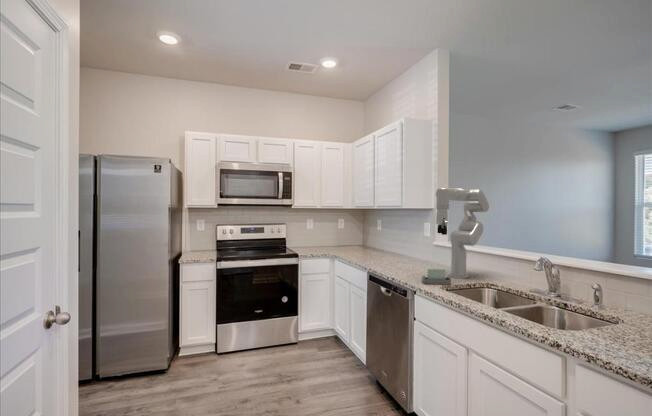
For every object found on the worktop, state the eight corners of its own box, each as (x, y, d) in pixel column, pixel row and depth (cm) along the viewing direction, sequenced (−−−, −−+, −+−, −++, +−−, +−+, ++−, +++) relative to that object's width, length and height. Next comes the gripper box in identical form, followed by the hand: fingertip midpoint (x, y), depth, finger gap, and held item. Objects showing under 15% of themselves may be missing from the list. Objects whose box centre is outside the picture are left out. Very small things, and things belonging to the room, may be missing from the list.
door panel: (427, 280, 205) (427, 268, 205) (443, 281, 204) (443, 268, 204) (428, 282, 202) (428, 269, 202) (445, 282, 201) (445, 269, 201)
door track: (421, 281, 207) (422, 275, 207) (447, 282, 206) (447, 276, 206) (424, 284, 200) (424, 277, 200) (451, 285, 199) (451, 278, 199)
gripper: (433, 207, 218) (432, 232, 218) (440, 207, 201) (439, 235, 201) (444, 207, 218) (444, 232, 218) (452, 207, 200) (452, 235, 201)
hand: (442, 233), depth 209 cm, fingers open, 9 cm apart
